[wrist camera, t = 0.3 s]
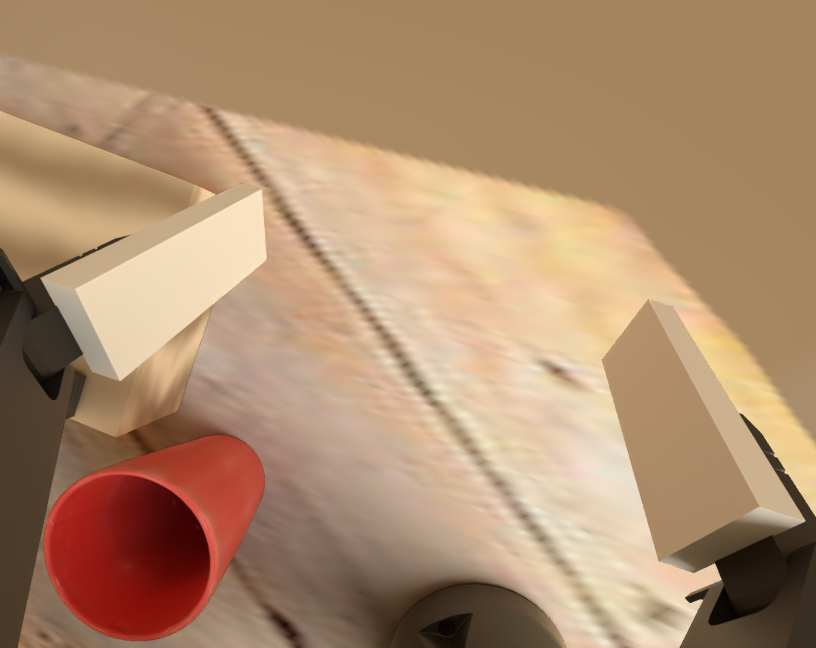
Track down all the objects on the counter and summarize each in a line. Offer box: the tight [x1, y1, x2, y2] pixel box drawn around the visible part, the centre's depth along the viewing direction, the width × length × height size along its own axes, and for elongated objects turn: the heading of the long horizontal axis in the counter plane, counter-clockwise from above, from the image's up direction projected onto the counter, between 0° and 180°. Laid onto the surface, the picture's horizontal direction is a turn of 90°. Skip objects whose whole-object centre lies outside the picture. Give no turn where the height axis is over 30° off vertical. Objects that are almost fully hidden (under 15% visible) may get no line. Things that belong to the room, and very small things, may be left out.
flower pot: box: [44, 435, 265, 641], centre depth 26 cm, size 11×11×10 cm
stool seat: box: [0, 111, 216, 438], centre depth 27 cm, size 18×23×6 cm
